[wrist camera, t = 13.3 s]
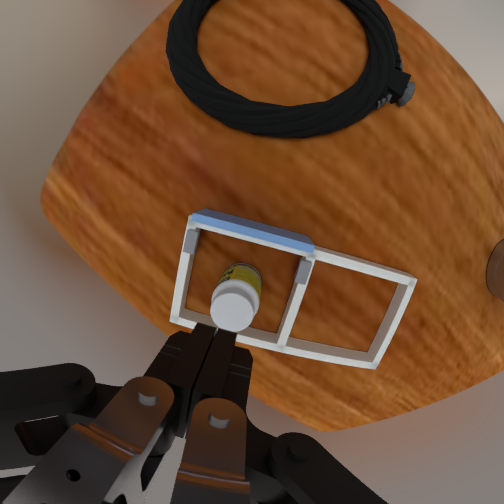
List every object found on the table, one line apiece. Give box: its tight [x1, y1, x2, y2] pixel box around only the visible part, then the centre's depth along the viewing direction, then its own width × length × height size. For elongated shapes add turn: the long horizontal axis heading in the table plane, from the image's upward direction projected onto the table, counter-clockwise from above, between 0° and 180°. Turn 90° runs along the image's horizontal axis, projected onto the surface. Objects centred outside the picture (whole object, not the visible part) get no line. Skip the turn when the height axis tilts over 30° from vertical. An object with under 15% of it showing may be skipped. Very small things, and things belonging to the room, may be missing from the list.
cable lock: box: [166, 0, 415, 138], centre depth 24 cm, size 28×4×30 cm
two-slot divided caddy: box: [170, 208, 417, 369], centre depth 31 cm, size 27×14×5 cm, turn 75°
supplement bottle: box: [210, 263, 262, 332], centre depth 29 cm, size 5×5×8 cm
